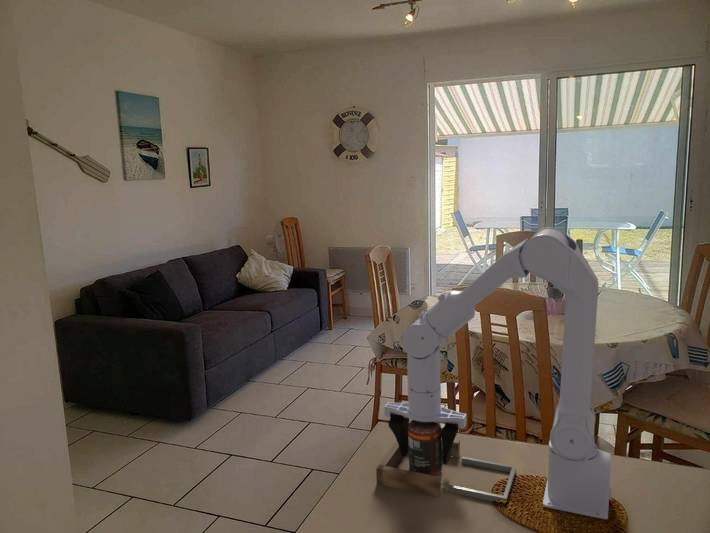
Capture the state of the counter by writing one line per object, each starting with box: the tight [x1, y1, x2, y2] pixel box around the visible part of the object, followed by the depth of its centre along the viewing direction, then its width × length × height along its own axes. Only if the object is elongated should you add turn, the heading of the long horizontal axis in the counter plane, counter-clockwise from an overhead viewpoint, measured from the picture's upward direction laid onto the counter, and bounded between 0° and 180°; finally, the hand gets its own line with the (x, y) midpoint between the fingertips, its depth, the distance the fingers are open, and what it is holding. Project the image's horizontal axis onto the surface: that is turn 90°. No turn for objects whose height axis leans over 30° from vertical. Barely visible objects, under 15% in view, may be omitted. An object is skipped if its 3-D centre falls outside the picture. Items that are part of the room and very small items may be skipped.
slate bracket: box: [447, 456, 517, 502], centre depth 96 cm, size 10×10×1 cm
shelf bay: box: [375, 438, 461, 498], centre depth 100 cm, size 11×14×3 cm
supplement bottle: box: [408, 419, 443, 476], centre depth 99 cm, size 6×6×11 cm
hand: (425, 457), depth 100 cm, fingers open, 7 cm apart
